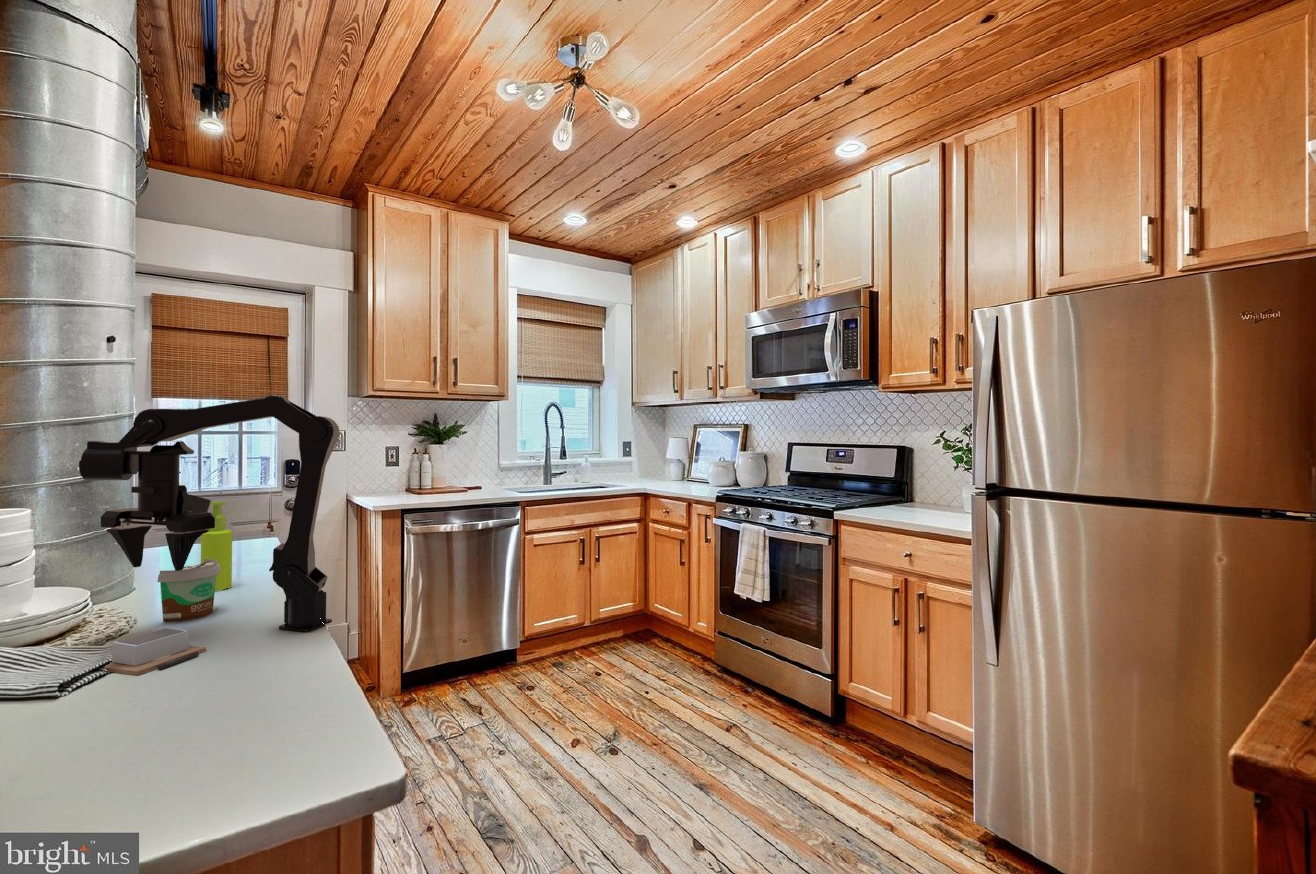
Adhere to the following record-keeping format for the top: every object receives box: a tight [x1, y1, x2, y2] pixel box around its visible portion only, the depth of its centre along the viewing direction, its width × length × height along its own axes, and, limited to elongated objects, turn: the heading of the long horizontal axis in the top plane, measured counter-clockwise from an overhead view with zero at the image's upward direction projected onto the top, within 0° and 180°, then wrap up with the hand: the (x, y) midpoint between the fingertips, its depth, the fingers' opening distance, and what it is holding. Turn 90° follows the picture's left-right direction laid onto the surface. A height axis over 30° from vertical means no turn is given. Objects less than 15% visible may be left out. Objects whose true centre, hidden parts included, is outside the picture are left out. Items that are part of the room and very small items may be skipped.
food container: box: [157, 559, 221, 623], centre depth 124 cm, size 12×6×10 cm, turn 179°
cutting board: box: [104, 644, 207, 676], centre depth 100 cm, size 10×11×1 cm
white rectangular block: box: [111, 627, 190, 666], centre depth 100 cm, size 5×8×3 cm, turn 162°
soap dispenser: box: [200, 501, 233, 592], centre depth 144 cm, size 6×7×20 cm
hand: (157, 568), depth 111 cm, fingers open, 9 cm apart
